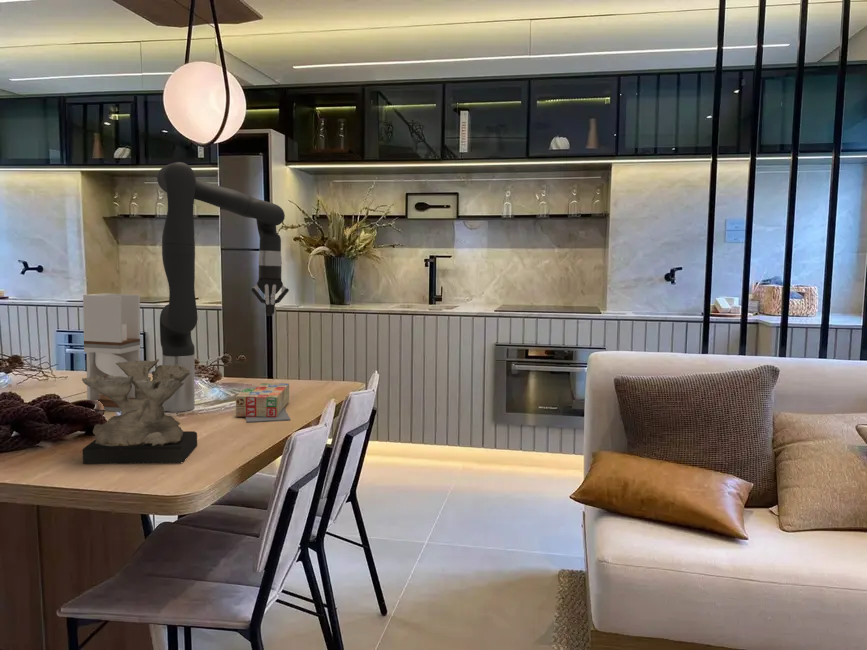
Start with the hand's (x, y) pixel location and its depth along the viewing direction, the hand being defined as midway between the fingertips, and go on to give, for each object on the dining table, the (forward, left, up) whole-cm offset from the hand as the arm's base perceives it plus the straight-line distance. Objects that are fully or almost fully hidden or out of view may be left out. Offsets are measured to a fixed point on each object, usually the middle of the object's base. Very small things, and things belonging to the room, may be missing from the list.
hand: (269, 315), depth 202 cm
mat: (-3, -19, -29) cm, 35 cm away
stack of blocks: (+3, -18, -25) cm, 31 cm away
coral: (-35, -52, -29) cm, 69 cm away
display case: (-47, -3, -29) cm, 56 cm away
